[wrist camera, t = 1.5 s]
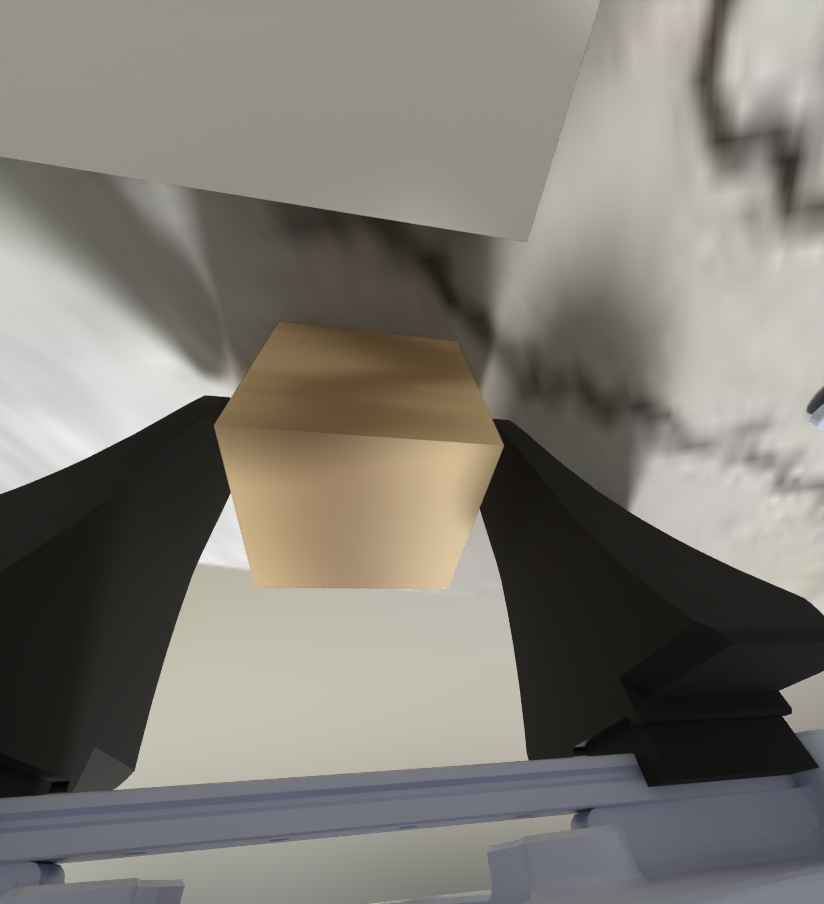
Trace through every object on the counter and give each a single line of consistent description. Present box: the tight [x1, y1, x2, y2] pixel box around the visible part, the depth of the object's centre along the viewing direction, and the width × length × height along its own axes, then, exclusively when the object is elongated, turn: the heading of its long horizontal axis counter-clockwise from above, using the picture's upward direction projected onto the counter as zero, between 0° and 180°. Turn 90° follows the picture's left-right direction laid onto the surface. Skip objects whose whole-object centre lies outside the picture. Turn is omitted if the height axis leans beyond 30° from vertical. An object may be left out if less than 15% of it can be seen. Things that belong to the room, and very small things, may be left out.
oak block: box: [214, 321, 504, 589], centre depth 10 cm, size 5×5×5 cm
